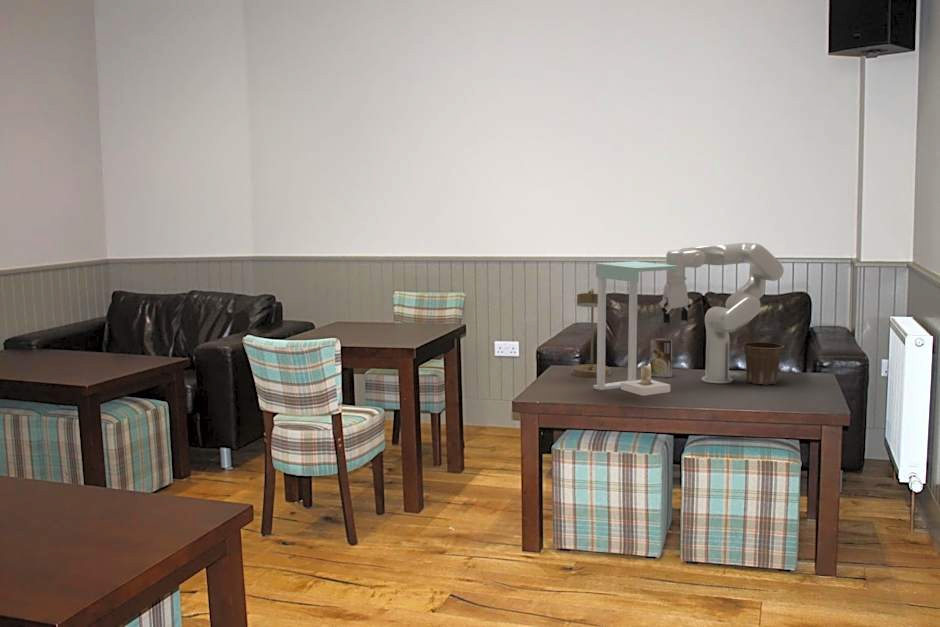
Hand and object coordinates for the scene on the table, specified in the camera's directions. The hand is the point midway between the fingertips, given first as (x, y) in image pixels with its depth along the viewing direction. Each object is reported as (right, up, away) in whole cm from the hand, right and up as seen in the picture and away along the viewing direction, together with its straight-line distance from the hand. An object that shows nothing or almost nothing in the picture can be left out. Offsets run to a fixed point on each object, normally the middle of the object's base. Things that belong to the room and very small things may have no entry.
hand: (675, 321), depth 402 cm
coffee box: (-2, -24, +23) cm, 33 cm away
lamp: (-33, -24, +23) cm, 47 cm away
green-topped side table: (-19, -28, -9) cm, 35 cm away
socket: (-14, -28, -8) cm, 32 cm away
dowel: (-14, -28, -8) cm, 32 cm away
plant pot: (+38, -26, +7) cm, 46 cm away
